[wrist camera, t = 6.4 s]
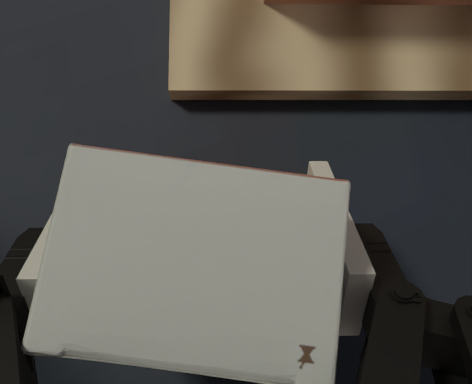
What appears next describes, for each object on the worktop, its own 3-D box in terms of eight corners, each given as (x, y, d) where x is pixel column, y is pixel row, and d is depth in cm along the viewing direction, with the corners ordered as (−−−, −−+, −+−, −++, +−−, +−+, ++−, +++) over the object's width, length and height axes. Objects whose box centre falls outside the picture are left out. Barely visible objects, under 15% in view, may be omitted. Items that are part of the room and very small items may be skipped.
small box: (294, 225, 22) (361, 177, 11) (282, 339, 20) (344, 402, 10) (139, 203, 22) (63, 135, 11) (117, 316, 20) (12, 356, 10)
